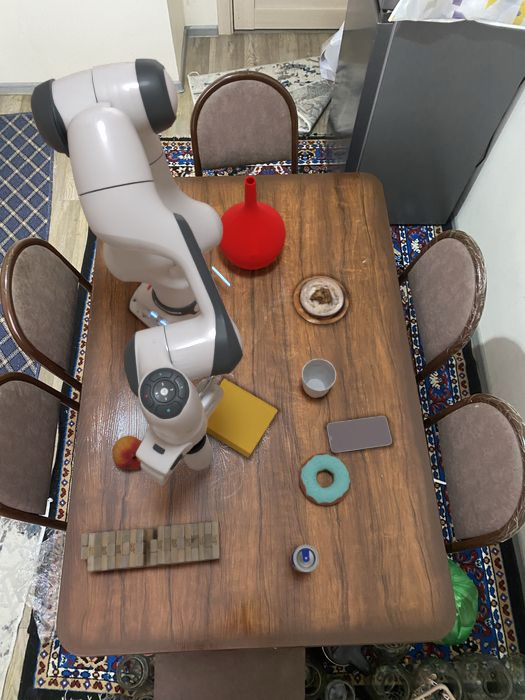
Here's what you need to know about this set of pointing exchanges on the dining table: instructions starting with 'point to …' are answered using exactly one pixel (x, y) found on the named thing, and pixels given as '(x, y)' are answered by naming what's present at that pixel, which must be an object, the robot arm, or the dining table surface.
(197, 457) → the travel mug
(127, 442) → the fruit
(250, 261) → the vase
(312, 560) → the beverage can
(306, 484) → the donut
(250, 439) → the yellow box
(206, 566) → the dining table surface
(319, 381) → the cup
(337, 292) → the cake on gold board
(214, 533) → the block tower
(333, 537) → the dining table surface
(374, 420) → the smartphone
